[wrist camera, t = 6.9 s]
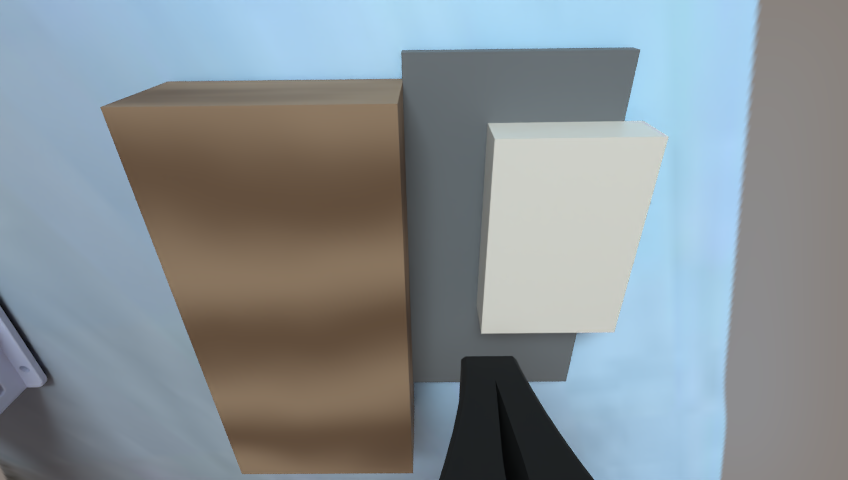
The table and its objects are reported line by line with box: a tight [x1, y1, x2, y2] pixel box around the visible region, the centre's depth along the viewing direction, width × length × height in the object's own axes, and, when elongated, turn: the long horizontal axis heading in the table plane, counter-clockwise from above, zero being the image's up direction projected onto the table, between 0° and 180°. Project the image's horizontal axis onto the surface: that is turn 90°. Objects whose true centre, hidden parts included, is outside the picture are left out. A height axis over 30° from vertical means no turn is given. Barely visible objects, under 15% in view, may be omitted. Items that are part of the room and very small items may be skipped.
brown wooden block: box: [101, 79, 414, 474], centre depth 20 cm, size 19×9×4 cm, turn 1°
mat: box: [401, 48, 640, 382], centre depth 20 cm, size 17×8×1 cm, turn 1°
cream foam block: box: [477, 121, 668, 334], centre depth 18 cm, size 9×6×2 cm, turn 1°
